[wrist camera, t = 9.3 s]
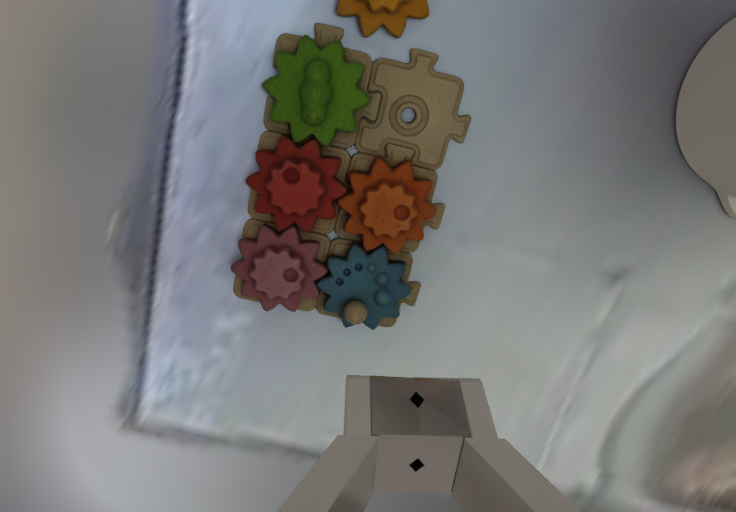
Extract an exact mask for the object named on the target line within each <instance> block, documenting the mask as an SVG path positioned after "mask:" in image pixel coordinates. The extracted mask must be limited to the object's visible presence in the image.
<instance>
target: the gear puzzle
mask: <svg viewBox="0 0 736 512" xmlns="http://www.w3.org/2000/svg"><path fill="white" fill-rule="evenodd" d="M337 14H338V15H339V16H345V17H350V16H358V18H359V25H360V29H361V32H362V34H363V36H364V37H368V36H370V35H371V34H373V33H374V32H375V31H377V30H378V28H379V27H380V26H384V27H385V28H386V30H387V31H388V32H389V33H390V34H392V35H393V36H394V37H396V38H400V37H401V35H402V33H403V31H404V28H405V25H406V19H407V18H408V17H411V18H416V19H423V18H427V17H428V16H429V9H428V4H427V0H339V3H338V6H337ZM315 33H316V37H315V38H314V39H311V38H310V37H309V36H308V35H304V36H303V37H302V36H298V35H293V34H288V33H285V34H282V35H280V36H279V38H278V40H277V44H276V49H275V55H274V62H273V67H275V68H277V69H278V72H279V74H278V75H277V76H274V77H271V78H269V79H267V80H266V81H265V82H264V83H263V84H262V87H263V88H264V89H265V91H266V92H267V93H268V94H270V95H271V96H268V98H267V103H266V109H265V114H264V124H265V127H266V128H267V129H268V131H266V132H264V133H263V134H262V135H261V137H260V142H259V146H258V150H257V152H256V161H257V163H258V165H259V167H260V171H258V172H256V173H254V174H252V175H250V176H249V177H248V178H247V179H246V184H247V185H248V186H249V187H250V188H251V193H250V199H249V205H248V213H249V214H250V216H252V217H253V218H252V219H249V220H248V221H247V222H246V224H245V226H244V230H243V236H242V239H241V240H239V242H238V245H239V249H240V252H241V254H242V256H243V257H244V258H243V259H240V260H238V261H237V262H235V263H234V264H233V265H232V266H231V271H232V272H233V273H235V274H236V277H235V283H234V293H235V295H236V296H238V297H239V298H243V299H248V300H253V301H258V302H261V305H262V307H263V309H264V310H265V311H269V310H271V309H273V308H274V307H276V306H277V305H278V304H279V303H281V304H282V305H283V306H284V307H286V308H287V309H288V310H290V311H293V312H295V311H296V310H297V309H298V310H303V311H311V310H313V309H314V308H315V307H316V308H317V310H318V312H319V313H321V314H324V315H329V316H334V317H339V318H342V322H343V325H344V326H345V327H346V328H347V327H350V326H352V325H354V324H360V323H362V322H363V323H364V324H365V325H366V326H367V327H369V328H371V329H372V330H374V329H375V328H376V327H377V326H384V327H391V326H393V325H394V324H395V323H396V320H397V317H398V316H399V309H400V305H401V303H402V302H405V303H406V304H408V305H410V306H414V305H415V302H416V299H417V296H418V293H419V290H420V286H421V285H420V283H419V282H408V278H409V274H410V271H411V267H412V262H413V259H412V255H411V254H410V252H414V251H415V250H416V249H417V248H418V245H419V242H420V241H421V240H423V237H424V234H423V229H424V227H425V226H426V225H429V226H430V227H431V228H433V229H438V228H439V226H440V223H441V220H442V216H443V213H444V209H445V204H443V203H437V204H434V203H432V197H433V194H434V191H435V187H436V183H437V179H438V178H437V174H436V172H435V171H434V170H435V169H437V168H439V167H440V166H441V164H442V163H443V160H444V156H445V153H446V150H447V146H448V142H449V140H450V139H454V140H456V141H457V142H459V143H463V142H464V139H465V136H466V133H467V130H468V127H469V124H470V121H471V117H470V116H469V115H463V116H458V114H457V111H458V108H459V105H460V102H461V98H462V94H463V90H464V83H463V81H462V80H461V79H460V78H458V77H456V76H453V75H449V74H445V73H441V72H436V71H434V68H433V67H434V65H435V63H436V62H437V60H438V57H439V56H438V55H437V54H433V53H430V52H427V51H423V50H419V49H415V48H413V49H411V50H410V62H409V63H402V62H398V61H394V60H390V59H386V58H379V59H376V60H375V61H374V62H372V60H371V58H370V56H369V55H368V54H366V53H363V52H360V51H356V50H351V49H347V48H344V47H343V46H342V43H341V41H340V40H341V38H342V37H343V35H344V30H343V29H342V28H338V27H334V26H330V25H326V24H321V23H316V24H315ZM406 108H412V109H413V110H414V111H415V113H416V117H415V119H414V121H412V122H410V123H406V122H404V121H403V120H402V118H401V113H402V112H403V110H404V109H406ZM352 145H355V147H356V149H357V150H358V151H359V152H358V153H355V154H354V155H353V156H352V157H351V156H350V154H349V152H348V151H347V150H346V149H347V148H349V147H351V146H352ZM333 230H335V232H336V234H337V235H338V236H339V237H338V238H335V239H333V240H332V241H331V240H330V239H329V237H328V236H327V235H326V234H327V233H330V232H332V231H333Z"/></svg>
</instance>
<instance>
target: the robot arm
mask: <svg viewBox="0 0 736 512" xmlns="http://www.w3.org/2000/svg"><path fill="white" fill-rule="evenodd" d="M676 131H677V137H678V142H679V145H680V148H681V151H682V153H683V155H684V157H685V159H686V161H687V162H688V164H689V165H690V167H691V168H692V169H693V170H694V171H695V173H696V174H697V175H699V176H700V177H701V178H702V179H703V180H705V181H706V182H707V183H709V184H710V185H711V186H712V187H713V188H714V189H715V190H716V191H717V193H718V196H719V198H720V201H721V203H722V205H723V207H724V209H725V211H726V212H727V214H728V215H729V216H731V217H733V218H736V17H735V18H733V19H732V20H730V21H729V22H728V23H727V24H725V25H724V26H723V27H722V28H721V29H719V30H718V31H717V32H716V33H715V34H714V35H713V36H712V37H711V38H710V39H709V41H708V42H707V43H706V44H705V45H704V47H703V48H702V49H701V50H700V52H699V53H698V55H697V56H696V58H695V59H694V61H693V63H692V64H691V66H690V68H689V70H688V72H687V74H686V77H685V79H684V81H683V84H682V87H681V90H680V94H679V98H678V103H677V110H676ZM374 492H427V493H450V494H452V495H451V496H452V497H453V499H454V500H455V501H456V503H457V504H458V505H459V507H460V508H461V509H462V511H463V512H581V511H580V510H579V509H578V508H577V507H576V506H575V505H574V504H573V503H571V502H570V501H569V500H568V499H567V498H566V497H565V496H564V495H563V494H562V493H561V492H560V491H559V490H558V489H557V488H556V487H555V486H554V485H553V484H552V483H551V482H549V481H548V480H547V479H546V478H545V477H544V476H543V475H542V474H541V473H540V472H539V471H538V470H537V469H536V468H535V467H534V466H533V465H532V464H531V463H530V462H529V461H527V460H526V459H525V458H524V457H523V456H522V455H521V454H520V453H519V452H518V451H517V450H516V449H515V448H514V447H513V446H512V445H511V444H510V443H509V442H508V441H507V440H505V439H500V438H498V437H497V433H496V430H495V426H494V423H493V419H492V416H491V412H490V408H489V405H488V401H487V398H486V394H485V391H484V387H483V384H482V381H481V380H480V379H473V378H457V379H456V378H414V377H413V378H406V377H386V376H370V377H369V376H358V375H347V377H346V392H345V413H344V435H338V436H337V437H336V438H335V440H334V441H333V442H332V443H331V445H330V446H329V447H328V448H327V450H326V451H325V452H324V453H323V455H322V456H321V457H320V458H319V460H318V461H317V462H316V463H315V465H314V466H313V467H312V468H311V470H310V471H309V472H308V473H307V475H306V476H305V477H304V478H303V480H302V481H301V482H300V483H299V485H298V486H297V487H296V488H295V490H294V491H293V492H292V493H291V495H290V496H289V497H288V498H287V500H286V501H285V502H284V503H283V505H282V506H281V507H280V508H279V510H278V511H277V512H364V510H365V509H366V507H367V505H368V503H369V502H370V500H371V498H372V496H373V493H374Z"/></svg>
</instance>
